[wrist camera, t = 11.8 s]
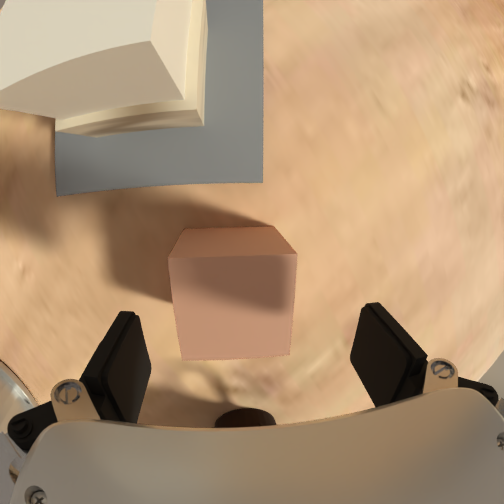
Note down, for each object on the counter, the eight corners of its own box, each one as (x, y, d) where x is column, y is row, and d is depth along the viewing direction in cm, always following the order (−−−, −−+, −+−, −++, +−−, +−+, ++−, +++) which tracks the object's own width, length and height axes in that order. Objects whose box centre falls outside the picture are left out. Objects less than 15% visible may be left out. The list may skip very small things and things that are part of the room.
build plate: (65, 194, 16) (56, 196, 15) (79, 25, 11) (72, 19, 10) (260, 181, 17) (262, 182, 16) (260, 2, 13) (262, -7, 12)
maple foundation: (96, 137, 14) (55, 131, 9) (105, 43, 12) (74, 13, 7) (204, 126, 15) (196, 109, 10) (208, 28, 12) (204, -13, 8)
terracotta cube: (191, 308, 20) (182, 360, 14) (184, 228, 18) (167, 258, 12) (271, 305, 20) (289, 355, 15) (273, 225, 18) (297, 253, 13)
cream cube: (63, 120, 9) (-26, 105, 3) (79, 18, 7) (22, -32, 2) (184, 99, 10) (150, 40, 4) (193, -6, 8) (181, -87, 2)
